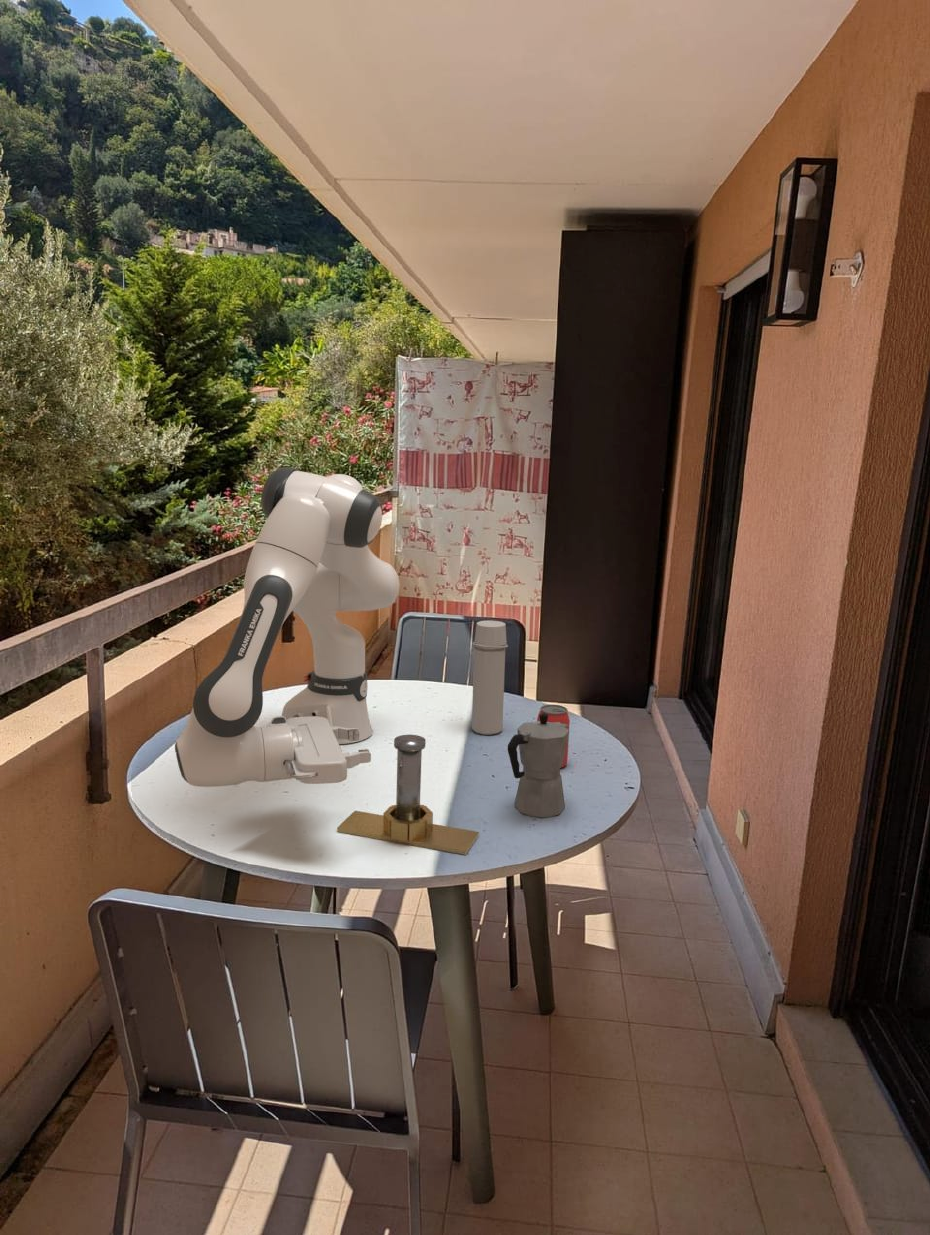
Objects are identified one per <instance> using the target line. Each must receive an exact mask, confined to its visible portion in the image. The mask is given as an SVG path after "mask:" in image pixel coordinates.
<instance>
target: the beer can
mask: <svg viewBox="0 0 930 1235" xmlns="http://www.w3.org/2000/svg"><path fill="white" fill-rule="evenodd" d="M539 710H540V711H539V712H538V715H537V719H536V721H540V716H539V715H540V714H543V713H545V714H548V715H549V716H548V720H547V722H551V723H552V722H560V723H561V722H563V723H565V724H566V725H568V726H567V727H566V728H567V729H568V730H569V731H570V723H571V722H570V716H569V715H570V714H569V713H568V711H569V710H568V708H567V707H566V706H563V705H560V704H545V705H542V706H541V707H540V708H539ZM569 739H570V735H569V736H568V741H567V746H566V751H565V755H564V760H563V764H562V766H561V767H560V769H562V768H564V767H566V766H567V764H568V757H569Z"/></svg>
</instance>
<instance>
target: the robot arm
mask: <svg viewBox="0 0 930 1235" xmlns="http://www.w3.org/2000/svg"><path fill="white" fill-rule="evenodd" d="M260 505H261V506H260V507H261V510H262V512H263V514H264V516H265V517H266V518H267V519H266V520H265V522H264V524H263V525H262V528H261V530H260V532H259V534H258V535H257V538H256V541H255V542H254V545H253V548H252V550H251V553H250V556H249V558H248V562H247V565H246V569H245V570H246V571H245V574H244V581H243V589H244V590H243V591H244V604H243V609H242V613H241V616H240V618H239V621H238V623H237V626H236V628H235V631H234V633H233V635H232V639H231V641H230V642H229V645H228V647H227V650H226V652H225V654H224V656H223V658H222V660H221V662H220V663H219V664H218V666H216V668H215V669H213V671H211V672H210V673H209V674H208V675H207V676H206V677H205V678H204V679H203V680H202V681H201V683H199V685H198V687H197V688H196V690H195V693H194V696H193V702H192V709H191V712H190V714H189V717H188V720H187V722H186V725H185V726H184V728H183V730H182V732H181V734H180V736H179V737H178V738H177V739H176V740H175V744H174V753H175V755H176V756H175V757H176V761H177V764H178V769H179V772H180V775H181V777H182V779H183V780H184V781H185V782H186V783H187V784H189V785H190V786H193V787H201V788H212V787H227V786H236V785H240V784H242V783H245V782H259V783H264V782H265V783H266V782H274V781H282V780H291V779H292V780H293V779H295V780H296V781H299V782H300V783H302V784H308V785H311V784H312V785H321V784H323V785H324V784H325V785H326V784H337V783H342V782H344V781H346V780H347V779H348V778H347V777H348V769H352V768H355V767H357V766H358V765H360V764H367V763H371V761H372V754H371V752H370V749H367V748H365V749H358V751H357V752H353V753H350V752H343V750H342V748H341V746H340V745H345V744H346V745H347V744H354V743H356V742H357V743H358V742H361V741H364V740H366V739H368V738H370V737H371V736H372V734H373V728H372V725H371V722H370V718H369V712H368V703H367V697H368V689H369V688H368V686H369V685H368V671H367V670H366V641H365V637H364V636H363V634H361V632H360V631H358V630H357V629H356V628H354V627H352V626H350V625H348V624H345V623H344V622H342V621H340V620H339V619H338V617H337V615H336V614H337V613H338V612H363V611H364V612H366V611H367V612H368V611H369V612H370V611H376V610H382V609H385V608H389V607H391V606H392V605H393V604H394V603H395V601H396V600H397V598H398V596H399V592H400V586H401V583H400V579H399V578H400V577H399V575H398V572H397V571H396V569H395V567H394V566H392V565H391V564H390V563H389V562H386V561H384V560H382V559H380V558H379V557H377V555H375V554H374V553H373V551H371V549H370V546H369V545H370V544H371V543H372V542H373V541H374V538H375V537H376V536H377V535H378V533H379V531H380V528H381V526H382V521H383V505H382V503H381V502H380V500H379V498H378V497H377V496H376V495H374V494H373V493H371V492H369V491H368V490H366V489H364V487H363V486H362V484H361V483H360V482H359V481H358V480H357V479H356V478H355V477H352V476H350V475H347V474H344V473H336V474H332V475H331V474H330V475H328V476H324V475H321V474H316V473H311V472H306V471H302V470H301V471H300V470H299V469H298V468H296V467H286V466H285V467H279V468H277V469H276V470H273V471H272V472H271V473H270V474H269V475H268V477H267V478H266V480H265V483H264V485H263V488H262V491H261V497H260ZM292 612H294V613H295V614H296V615H297V616H298V617H299V618H300V619H301V620H302V621H303V623H304V625H305V626H306V628H307V629H308V631H309V635H310V637H311V642H312V648H313V662H314V663H313V670H312V671H311V672H308V673H307V675H305V676H304V677H303V682H304V683H306V682H307V685H306V686H307V687H305V688H304V689H303V690H300V692H298V693H297V694H296V695H294V696H292V697H291V698H290V699H289V700H288V701H287V702H285V703H284V706H283V709H282V712H281V716H280V715H279V716H274V717H273V718H271V721H270V722H269V724H267V726H261V727H260V726H259V727H256V726H255V725H256V723H257V722H258V720H259V718H260V716H261V715H262V711H263V706H264V705H263V704H264V696H263V695H264V691H263V678H264V673H265V669H266V667H267V664H268V661H269V659H270V657H271V654H272V651H273V648H274V646H275V643H276V641H277V638H278V636H279V633H280V631H281V628H282V627H283V624H284V622H286V620H287V618H288V617H289V615H290V614H291V613H292Z"/></svg>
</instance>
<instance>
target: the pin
mask: <svg viewBox="0 0 930 1235" xmlns="http://www.w3.org/2000/svg"><path fill="white" fill-rule="evenodd" d="M426 741H427V740H426V739H425V737H423V736H420V735H418V734H402V735H398V736H396V737H394V739H393V747H394V748H395V749H396V750H397V751H396V752H397V755H396V756H397V760H396V763H397V764H396V765H397V766H396V793H395V794H396V797H395V799H396V803H395V805H396V820H402V821H408V822H409V821H414V820H419V819H420V805H421V789H422V788H421V786H422V782H421V781H422V756H423V755H422V751H423V749H425V748H426V745H427V744H426Z"/></svg>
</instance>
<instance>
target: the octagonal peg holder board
mask: <svg viewBox="0 0 930 1235" xmlns="http://www.w3.org/2000/svg"><path fill="white" fill-rule="evenodd" d="M433 822H434V812H433V811H432V810H431V809H430V808H428V806H426V805H424V804H420V819H419V820H414V821H409V822H408V821H402V820H396V804H394V805H390V806H389V807H387V809H385V811H384V812H383V814H378V813H377V814H376V813H372V812H365V811H360V810H354V811H353V812H352V813H350V815H349V816H347V817H346V819H344V820H343V821H341V823H340V824H339V825H338V826H337V830H336V831H337V833H341V834H342V833H344V834H349V835H353V836H357V837H358V836H359V837H364V838H370V839H375V840H380V841H381V840H382V841H386V842H392V843H398V844H404V845H408V846H415V847H420V848H425V849H430V850H437V851H441V852H447V853H452V854H457V855H463V856H467V854H469V851H470V850H471V848H472V847H473V845H474V844H475V843H476V841H477V840H478V838H479V836H480V832H479V831H476V830H472V829H471V830H469V829H464V828H458V827H454V826H447V825H443V824H436V823H433Z"/></svg>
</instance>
